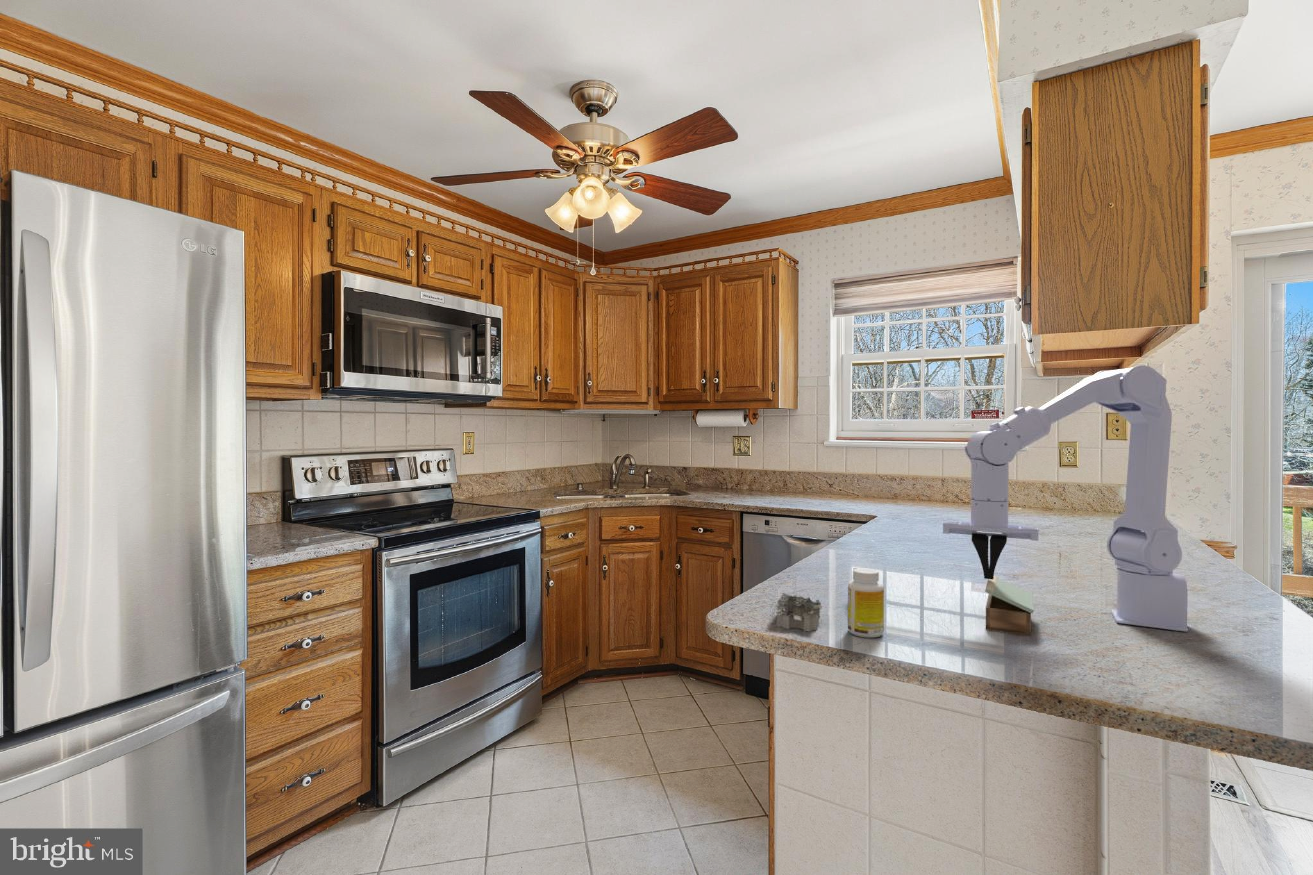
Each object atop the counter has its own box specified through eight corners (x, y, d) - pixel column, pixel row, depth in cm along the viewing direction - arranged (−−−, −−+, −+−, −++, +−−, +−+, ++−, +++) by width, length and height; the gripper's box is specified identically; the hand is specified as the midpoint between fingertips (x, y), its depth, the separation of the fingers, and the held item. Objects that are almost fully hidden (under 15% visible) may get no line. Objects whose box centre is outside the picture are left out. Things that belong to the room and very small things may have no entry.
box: (1029, 616, 110) (1029, 596, 110) (1030, 636, 100) (1030, 613, 100) (988, 611, 113) (988, 591, 113) (985, 629, 103) (985, 608, 103)
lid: (1031, 595, 110) (1032, 592, 110) (1032, 613, 99) (1034, 609, 99) (988, 576, 113) (989, 573, 113) (985, 591, 103) (986, 588, 103)
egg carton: (817, 634, 101) (817, 609, 101) (771, 629, 104) (771, 604, 104) (824, 615, 111) (824, 593, 111) (782, 611, 114) (782, 589, 114)
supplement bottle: (891, 636, 99) (891, 573, 99) (862, 640, 97) (863, 575, 97) (868, 626, 105) (868, 565, 104) (840, 629, 103) (840, 568, 103)
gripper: (941, 499, 108) (940, 577, 108) (1039, 504, 101) (1038, 588, 101) (945, 496, 114) (945, 569, 114) (1038, 500, 107) (1037, 579, 107)
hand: (988, 577), depth 108 cm, fingers closed
